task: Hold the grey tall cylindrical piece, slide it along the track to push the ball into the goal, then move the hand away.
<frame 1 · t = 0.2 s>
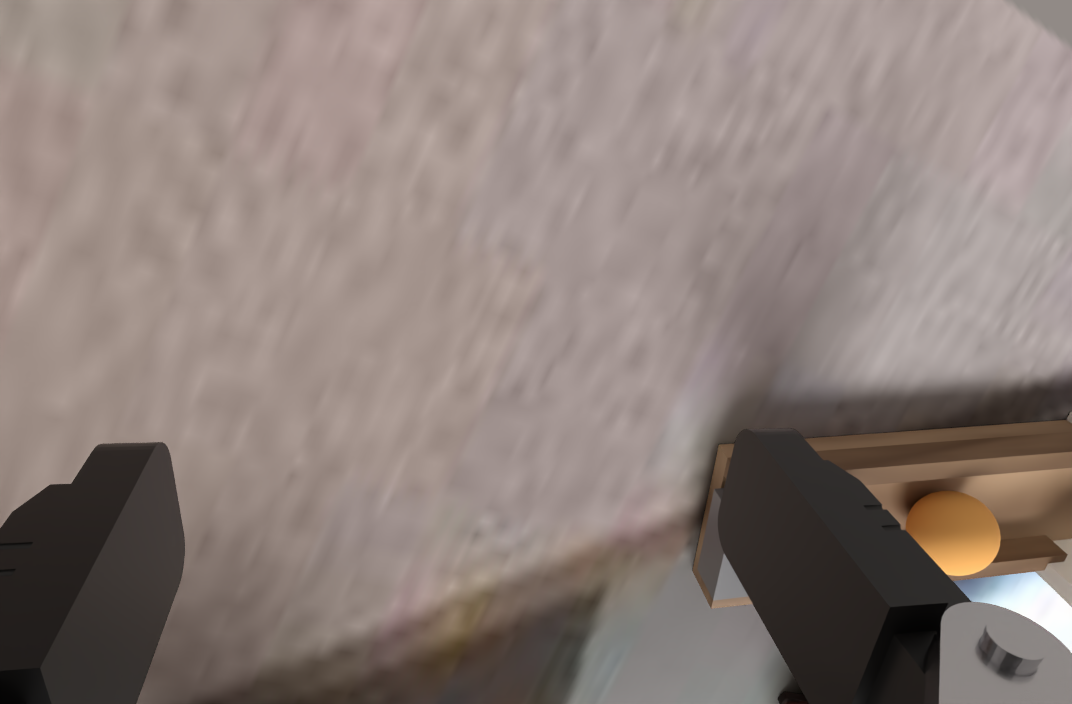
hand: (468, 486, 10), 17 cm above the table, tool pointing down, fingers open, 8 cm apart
mate gourd: (809, 703, 46), on the table
grey tall cylindrical piece: (840, 644, 29), point 8 cm above the table, slide at 0.0 cm
ball: (951, 532, 35), point 3 cm above the table, touching track
track: (938, 490, 38), on the table
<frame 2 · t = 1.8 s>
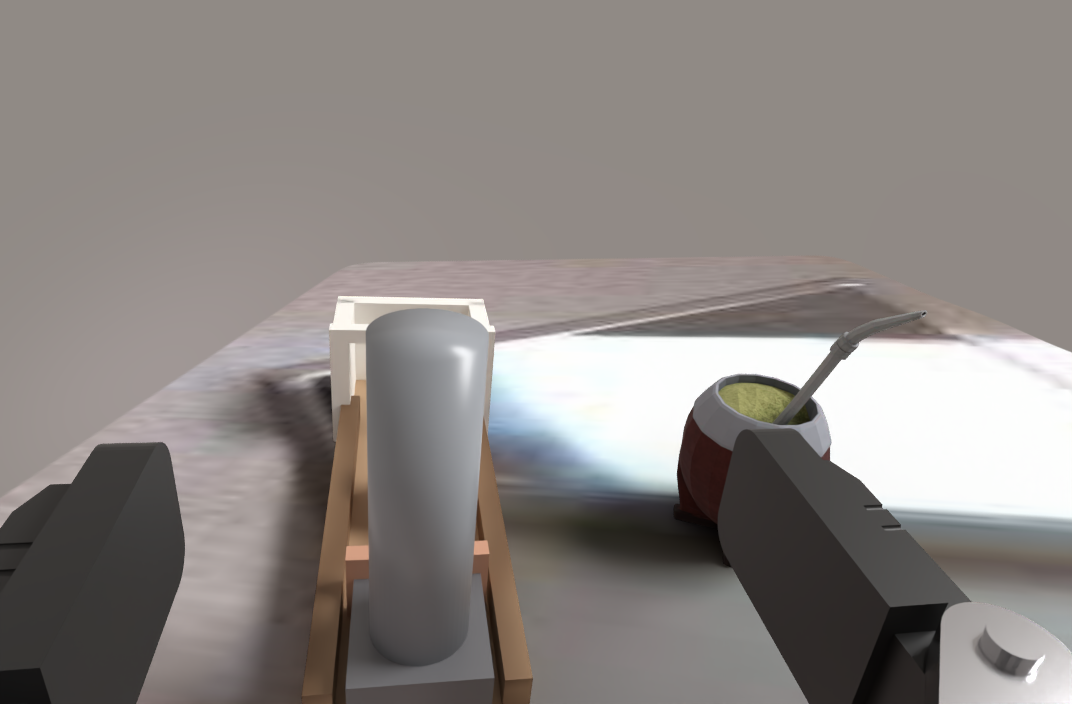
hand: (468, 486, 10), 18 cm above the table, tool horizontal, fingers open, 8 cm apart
mate gourd: (739, 535, 39), on the table
grey tall cylindrical piece: (422, 511, 25), point 8 cm above the table, slide at 0.0 cm
track: (413, 505, 38), on the table
goal: (411, 413, 46), on the table
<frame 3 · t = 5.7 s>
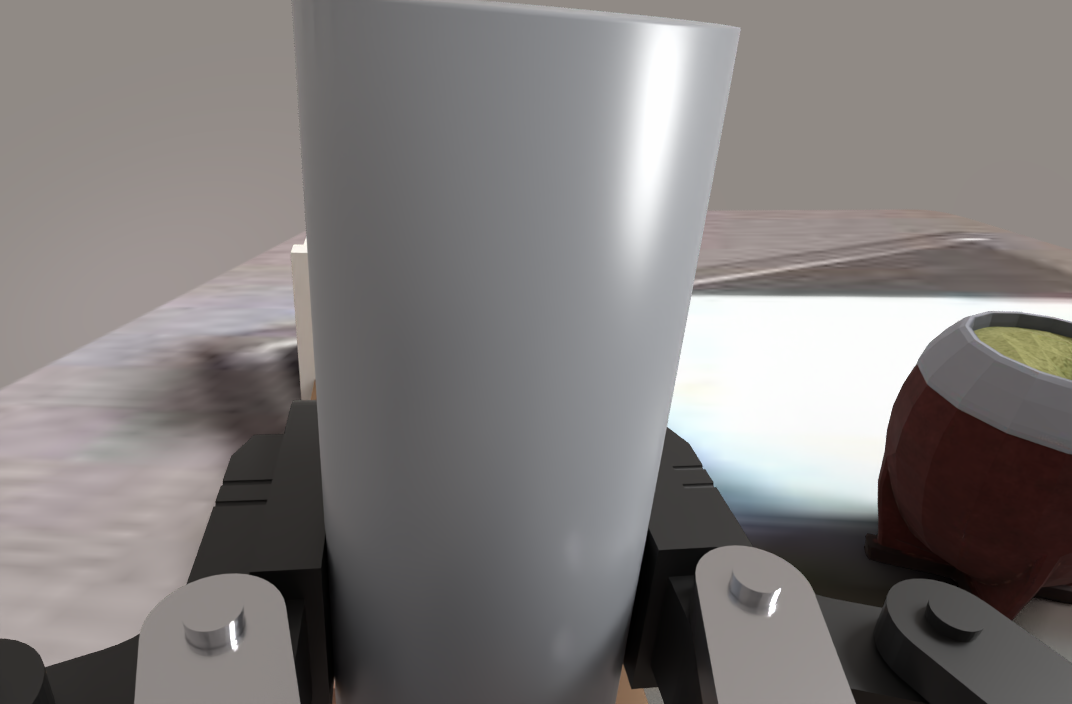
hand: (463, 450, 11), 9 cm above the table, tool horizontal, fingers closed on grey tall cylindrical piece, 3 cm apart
mate gourd: (981, 586, 23), on the table
grey tall cylindrical piece: (478, 599, 9), point 8 cm above the table, slide at 0.0 cm, touching gripper
track: (434, 543, 22), on the table
goal: (425, 396, 30), on the table
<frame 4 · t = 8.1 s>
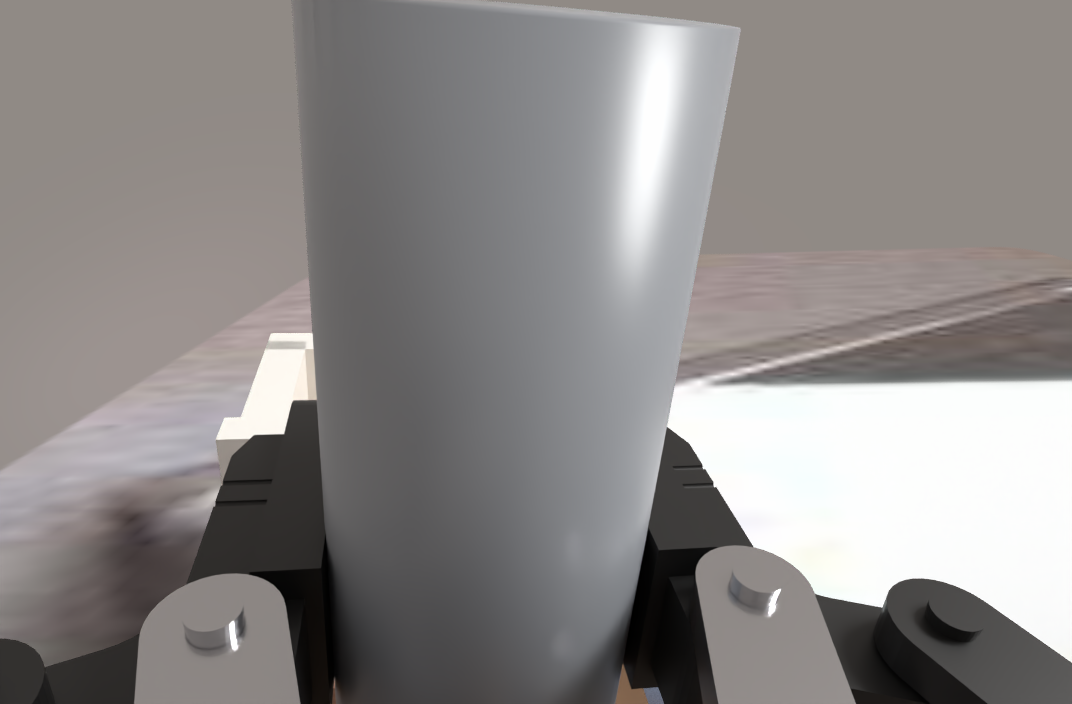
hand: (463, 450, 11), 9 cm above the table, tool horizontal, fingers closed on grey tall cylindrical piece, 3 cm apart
grey tall cylindrical piece: (478, 599, 10), point 8 cm above the table, slide at 11.0 cm, touching gripper
goal: (436, 589, 21), on the table
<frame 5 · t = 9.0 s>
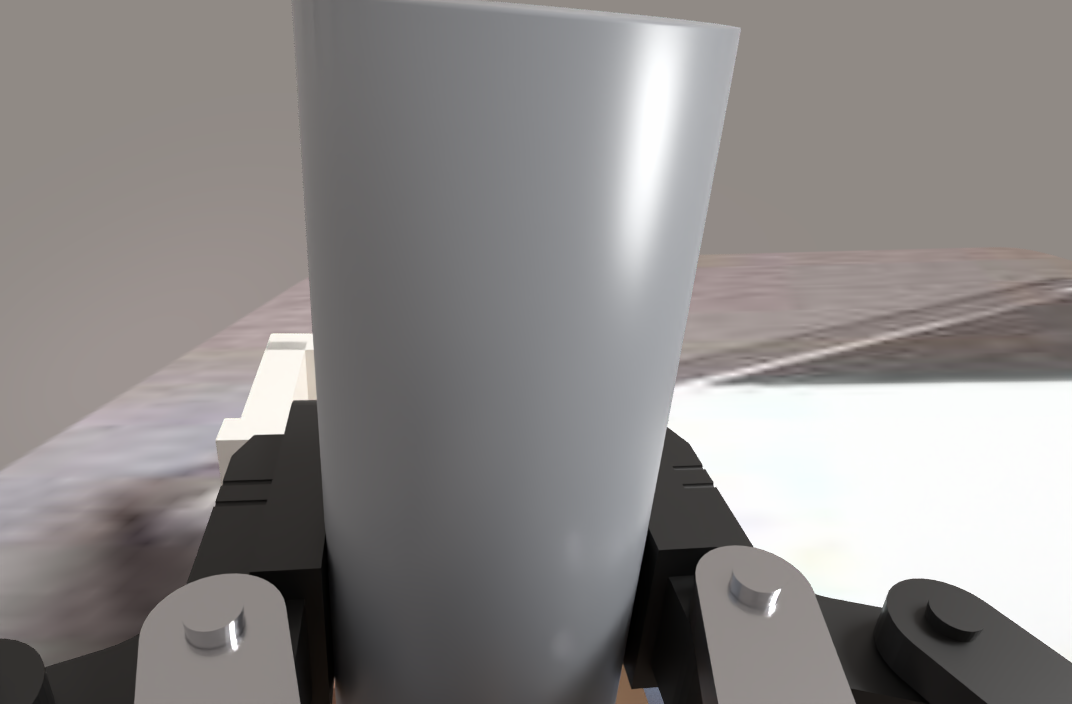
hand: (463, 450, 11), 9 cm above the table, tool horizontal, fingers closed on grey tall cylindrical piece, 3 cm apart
grey tall cylindrical piece: (478, 599, 10), point 8 cm above the table, slide at 11.0 cm, touching gripper
goal: (437, 590, 21), on the table
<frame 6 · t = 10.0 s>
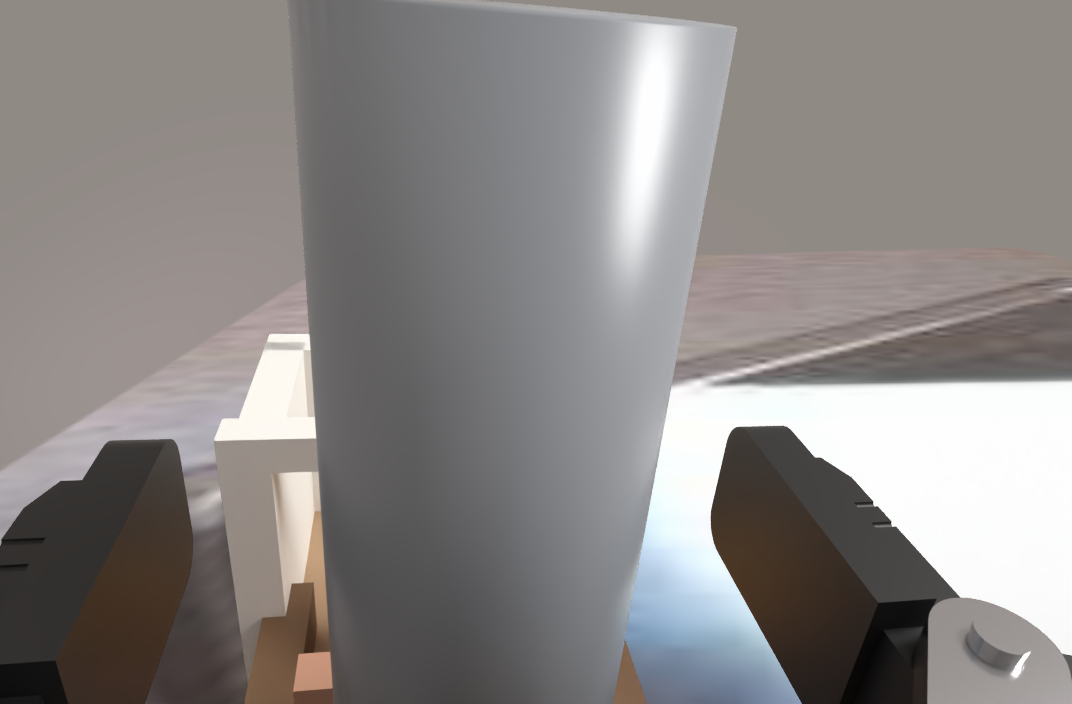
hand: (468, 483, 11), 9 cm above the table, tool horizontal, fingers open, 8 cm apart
grey tall cylindrical piece: (476, 599, 9), point 8 cm above the table, slide at 11.0 cm
goal: (435, 591, 21), on the table
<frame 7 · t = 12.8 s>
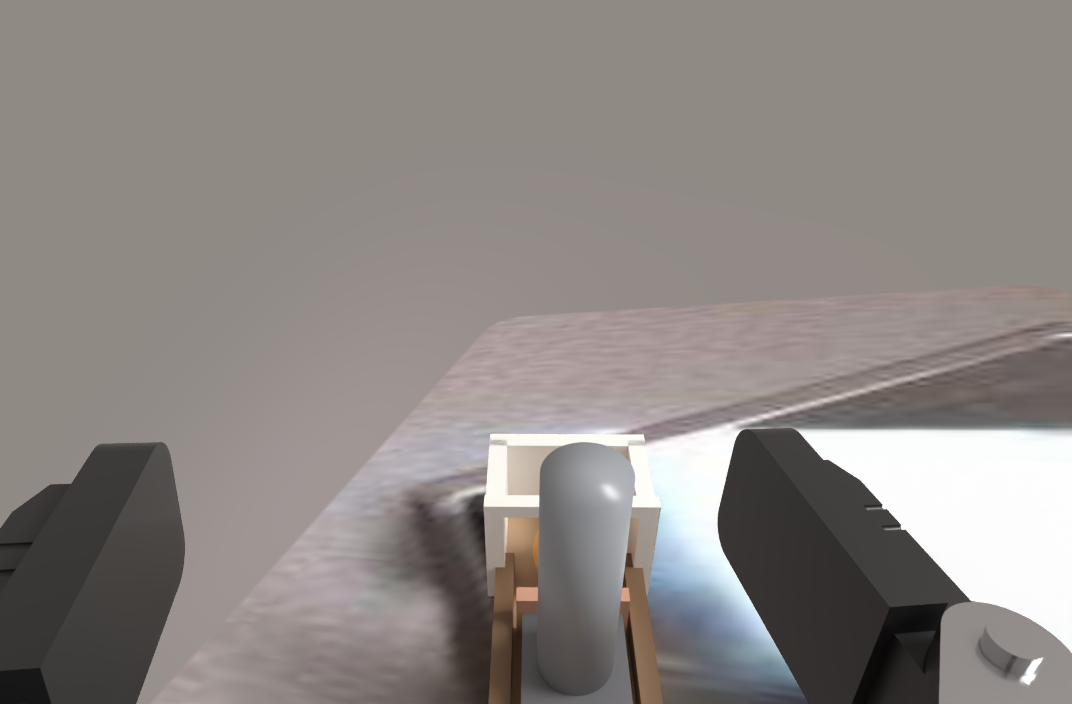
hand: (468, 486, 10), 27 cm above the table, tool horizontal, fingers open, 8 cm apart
grey tall cylindrical piece: (578, 584, 32), point 8 cm above the table, slide at 11.0 cm
track: (572, 698, 36), on the table
goal: (565, 554, 44), on the table
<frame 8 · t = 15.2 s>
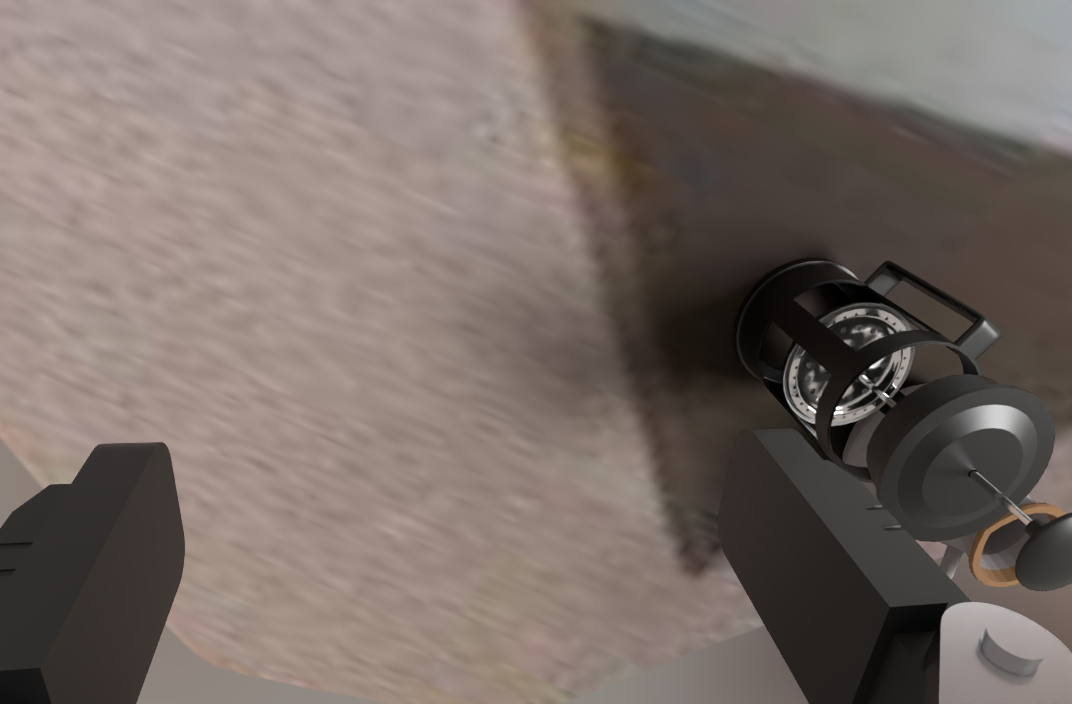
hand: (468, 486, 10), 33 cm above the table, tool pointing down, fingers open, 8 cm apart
coffee pot: (853, 479, 57), on the table
french press: (802, 316, 50), on the table
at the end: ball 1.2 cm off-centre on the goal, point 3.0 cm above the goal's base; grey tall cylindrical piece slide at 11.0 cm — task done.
